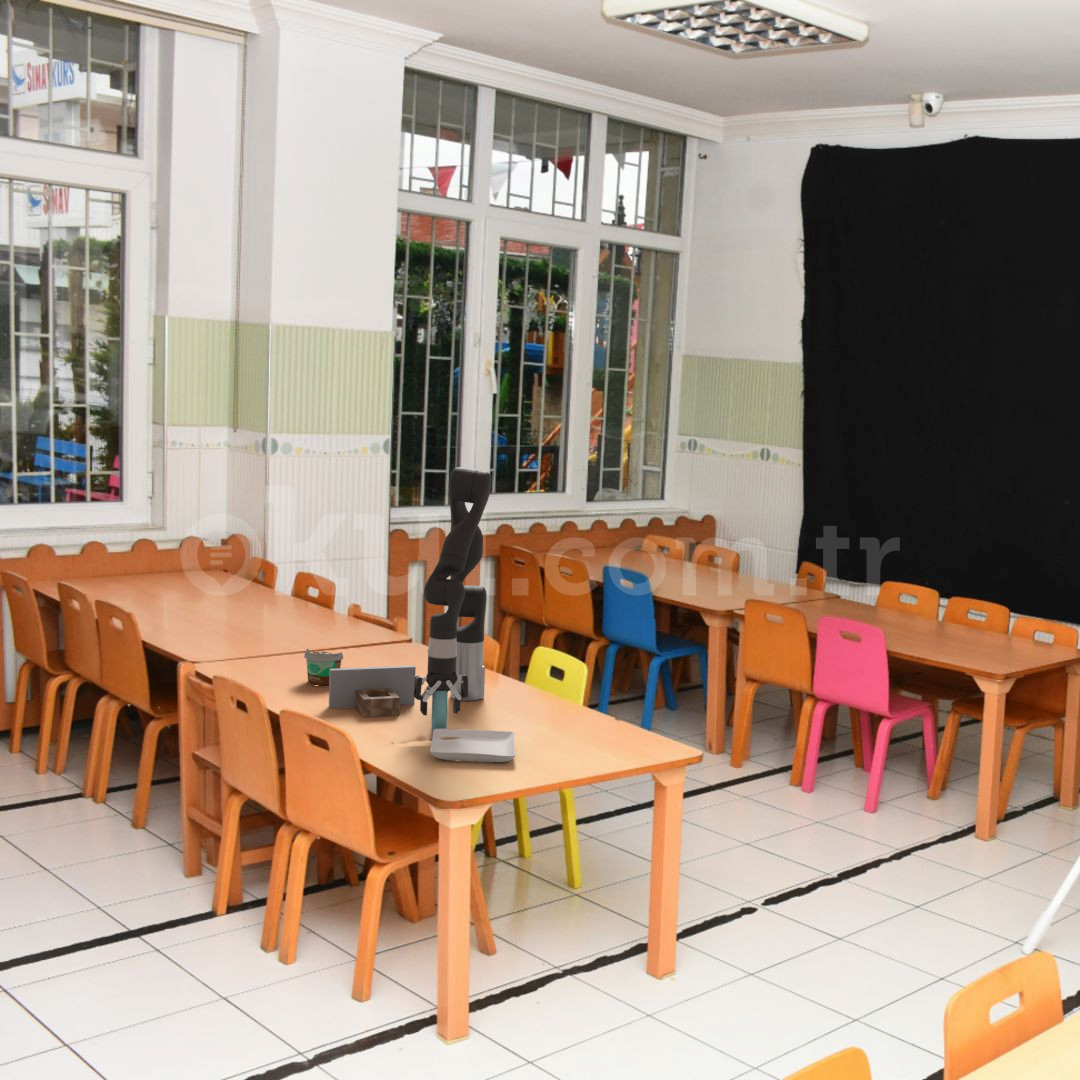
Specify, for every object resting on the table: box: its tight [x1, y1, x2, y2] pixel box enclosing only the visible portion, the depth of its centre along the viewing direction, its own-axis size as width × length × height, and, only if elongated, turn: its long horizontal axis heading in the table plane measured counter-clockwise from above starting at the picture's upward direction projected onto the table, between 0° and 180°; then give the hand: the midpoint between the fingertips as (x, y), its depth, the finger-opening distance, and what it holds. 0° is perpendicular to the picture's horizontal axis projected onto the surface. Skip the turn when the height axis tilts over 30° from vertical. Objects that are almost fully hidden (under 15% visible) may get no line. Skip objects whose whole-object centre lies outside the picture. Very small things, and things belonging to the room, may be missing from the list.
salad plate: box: [429, 728, 516, 763], centre depth 331 cm, size 21×21×3 cm
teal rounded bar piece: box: [431, 691, 449, 732], centre depth 344 cm, size 4×4×12 cm
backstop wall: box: [328, 664, 417, 710], centre depth 364 cm, size 24×2×12 cm, turn 110°
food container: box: [303, 647, 344, 687], centre depth 389 cm, size 12×6×10 cm, turn 73°
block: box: [355, 688, 401, 718], centre depth 359 cm, size 10×10×5 cm
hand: (440, 714), depth 344 cm, fingers open, 8 cm apart
